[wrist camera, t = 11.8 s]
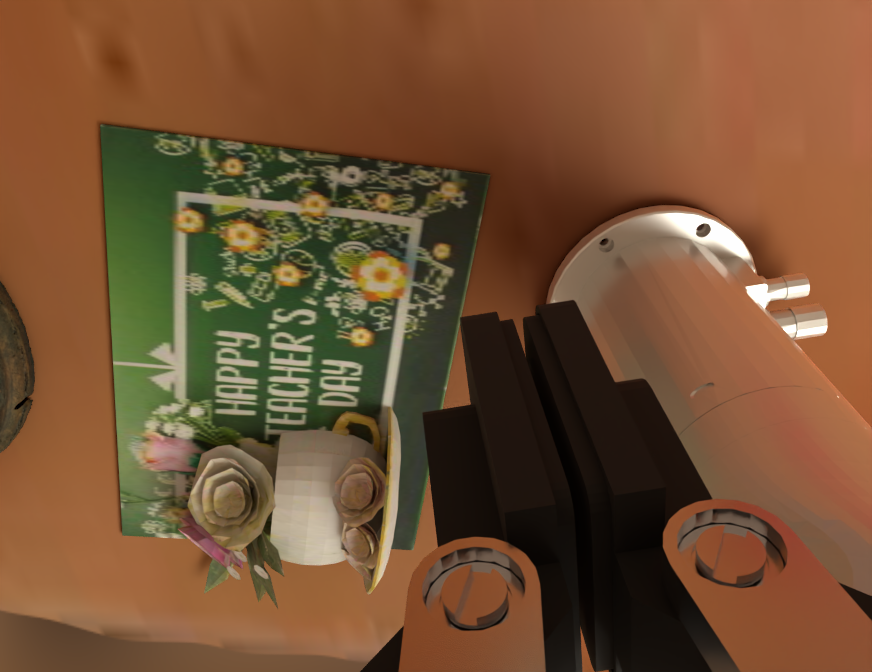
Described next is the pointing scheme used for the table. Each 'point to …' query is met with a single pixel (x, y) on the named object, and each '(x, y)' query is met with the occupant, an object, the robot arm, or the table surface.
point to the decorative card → (279, 344)
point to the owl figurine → (13, 370)
